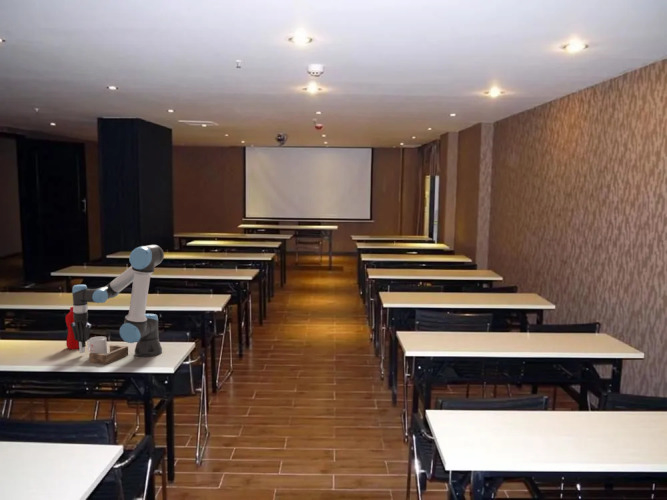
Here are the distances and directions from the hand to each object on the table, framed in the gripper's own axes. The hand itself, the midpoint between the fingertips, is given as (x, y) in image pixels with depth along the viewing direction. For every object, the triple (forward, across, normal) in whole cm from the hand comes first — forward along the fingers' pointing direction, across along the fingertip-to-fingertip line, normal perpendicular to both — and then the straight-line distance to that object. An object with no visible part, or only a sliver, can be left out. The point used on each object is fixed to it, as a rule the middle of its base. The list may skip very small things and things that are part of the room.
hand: (82, 352), depth 334 cm
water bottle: (+2, +16, -13) cm, 21 cm away
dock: (+2, -18, 0) cm, 18 cm away
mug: (+2, -10, 0) cm, 10 cm away
